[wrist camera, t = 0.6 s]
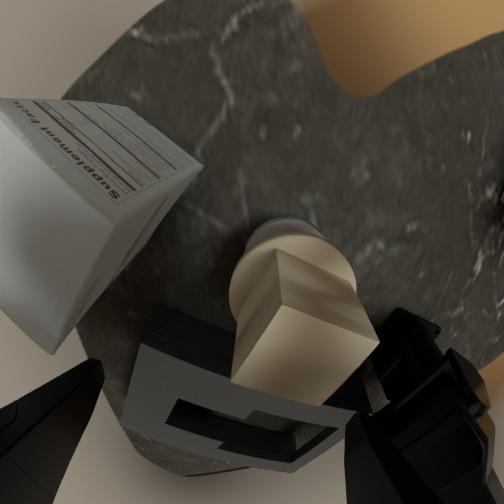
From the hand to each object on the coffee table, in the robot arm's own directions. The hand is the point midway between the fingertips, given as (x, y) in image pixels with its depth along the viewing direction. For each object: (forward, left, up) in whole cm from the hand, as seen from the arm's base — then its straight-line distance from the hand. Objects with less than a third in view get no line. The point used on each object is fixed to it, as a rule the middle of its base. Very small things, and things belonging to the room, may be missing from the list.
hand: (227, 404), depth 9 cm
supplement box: (+9, -2, -13) cm, 16 cm away
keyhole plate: (-6, +14, -13) cm, 20 cm away
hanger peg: (-3, -1, -13) cm, 13 cm away
